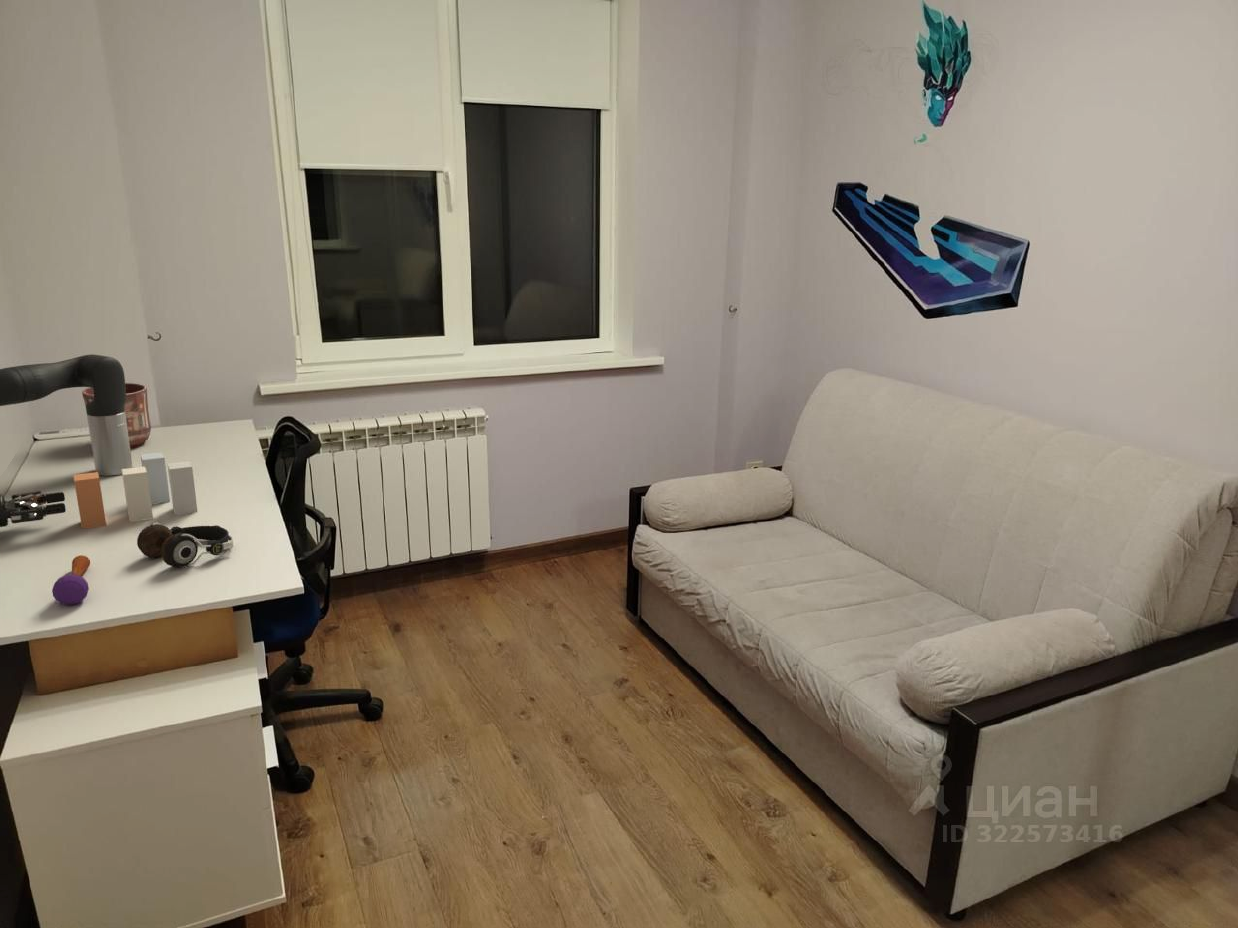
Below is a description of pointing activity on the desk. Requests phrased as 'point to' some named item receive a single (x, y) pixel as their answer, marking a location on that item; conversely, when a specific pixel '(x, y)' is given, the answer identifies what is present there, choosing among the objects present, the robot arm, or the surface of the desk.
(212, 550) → the headset
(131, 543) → the desk surface
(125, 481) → the cream block
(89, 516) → the rust block
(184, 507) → the grey block
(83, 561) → the purple maraca
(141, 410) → the pottery
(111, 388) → the robot arm
